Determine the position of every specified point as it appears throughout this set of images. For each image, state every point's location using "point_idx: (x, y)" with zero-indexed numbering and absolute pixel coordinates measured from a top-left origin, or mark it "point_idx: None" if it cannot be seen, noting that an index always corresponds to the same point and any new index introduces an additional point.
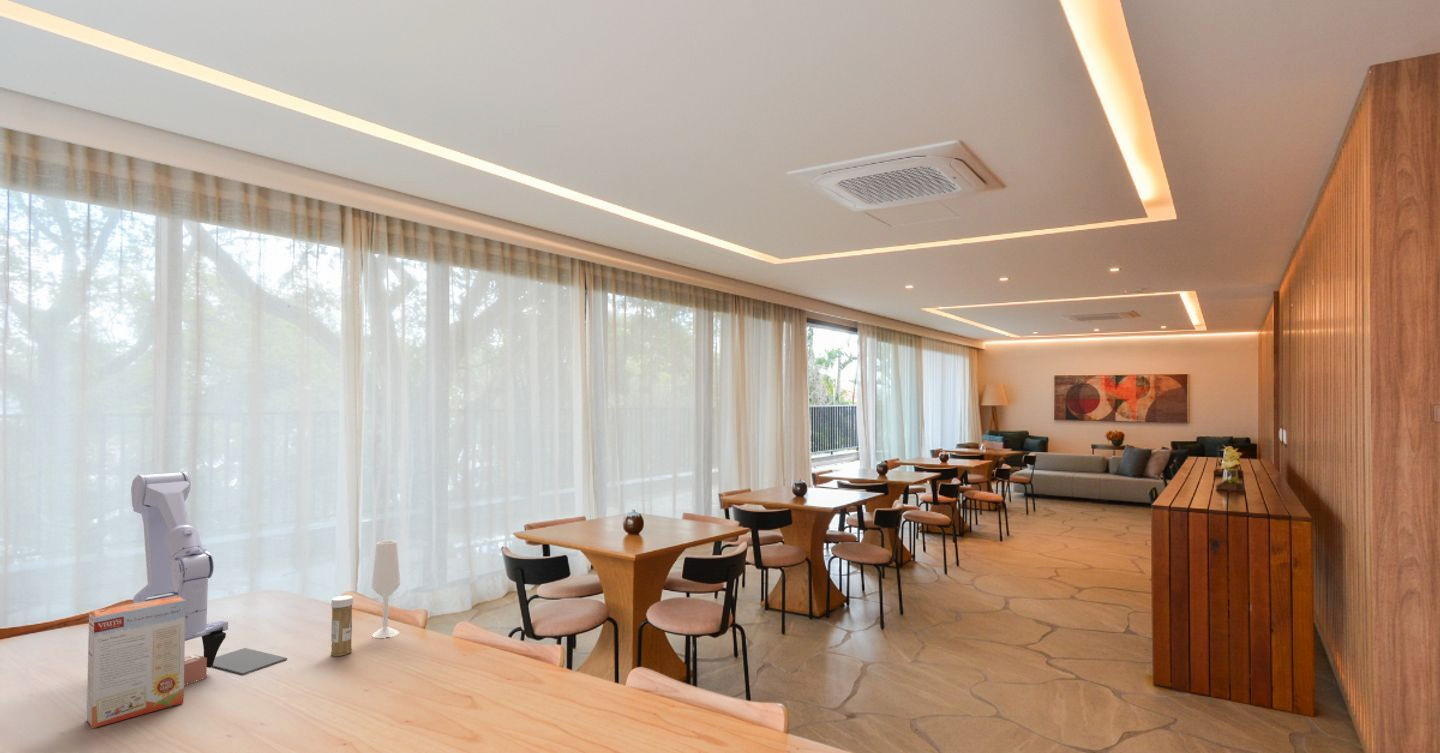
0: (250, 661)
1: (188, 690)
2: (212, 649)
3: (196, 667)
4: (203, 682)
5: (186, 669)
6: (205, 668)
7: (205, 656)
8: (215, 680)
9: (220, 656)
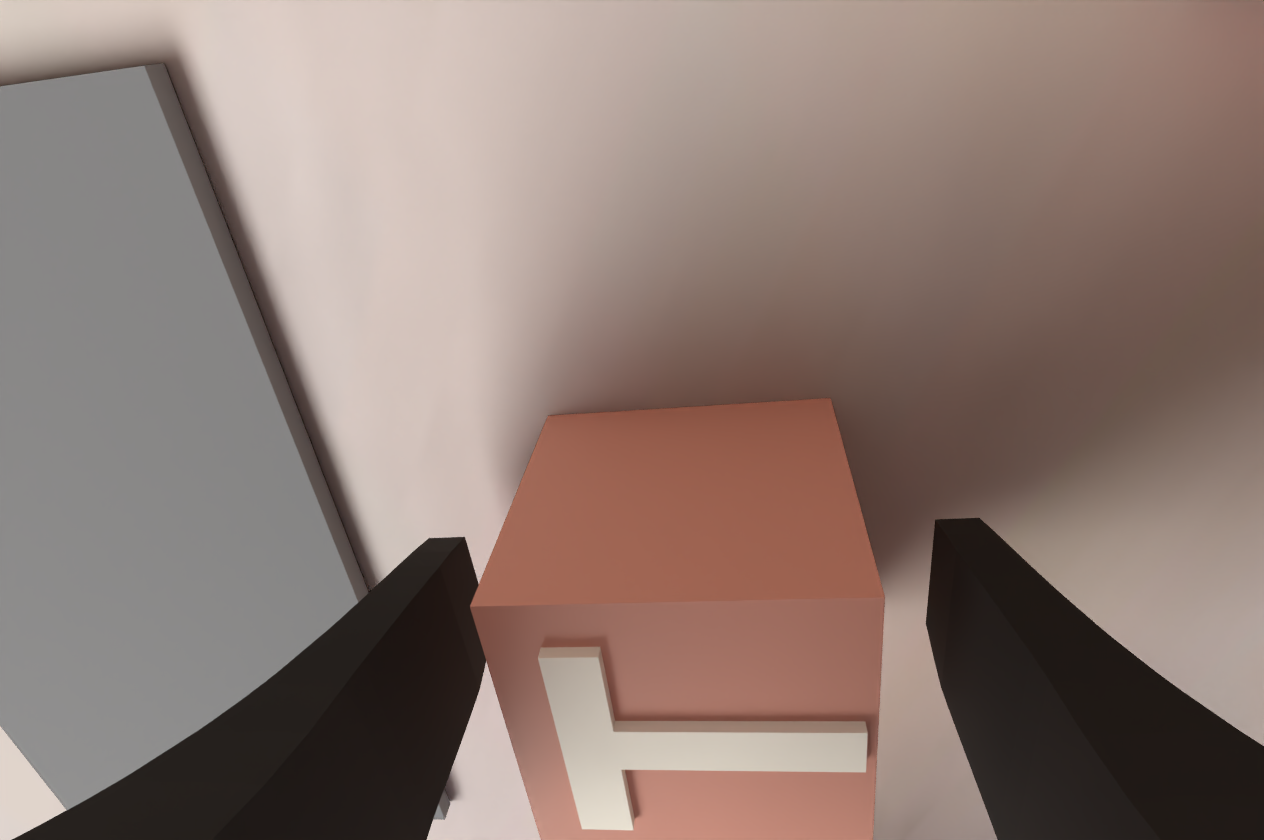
0: (28, 451)
1: (913, 130)
2: (320, 736)
3: (657, 523)
4: (637, 279)
5: (821, 527)
6: (533, 490)
7: (440, 732)
8: (506, 208)
9: None
